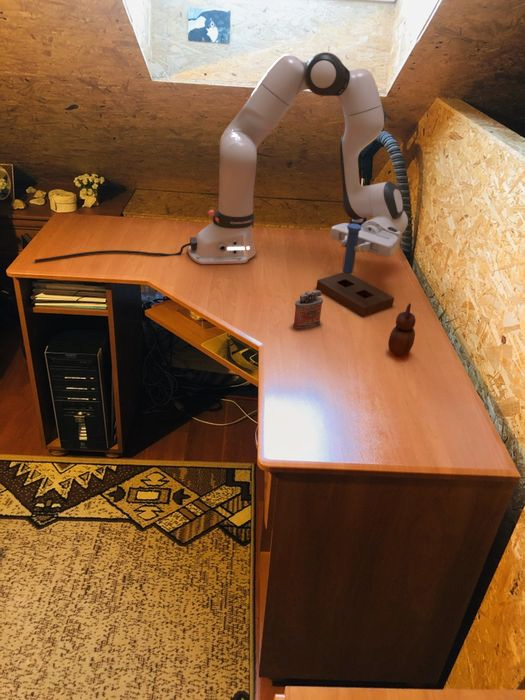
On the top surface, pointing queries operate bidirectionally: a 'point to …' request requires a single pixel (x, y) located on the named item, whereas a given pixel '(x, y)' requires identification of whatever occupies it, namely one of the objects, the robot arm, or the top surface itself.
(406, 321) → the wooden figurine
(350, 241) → the peg
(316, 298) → the lighter
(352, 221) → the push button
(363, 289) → the rack
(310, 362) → the top surface
